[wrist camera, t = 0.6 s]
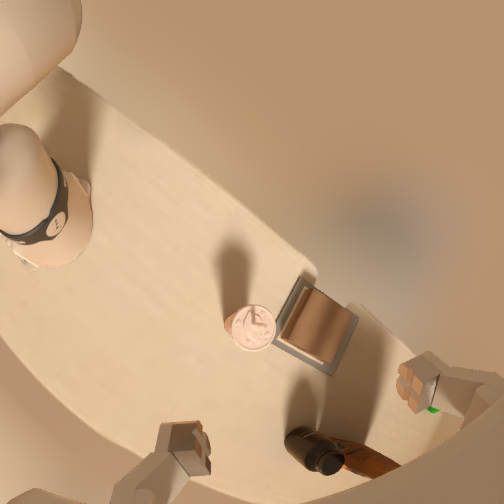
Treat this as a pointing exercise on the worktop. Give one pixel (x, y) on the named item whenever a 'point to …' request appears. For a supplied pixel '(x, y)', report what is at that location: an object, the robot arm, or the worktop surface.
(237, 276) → the worktop surface
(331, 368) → the mat
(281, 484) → the worktop surface
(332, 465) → the supplement bottle
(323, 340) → the base block
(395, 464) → the pancake mix bag
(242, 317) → the smoothie
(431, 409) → the polyhedron
